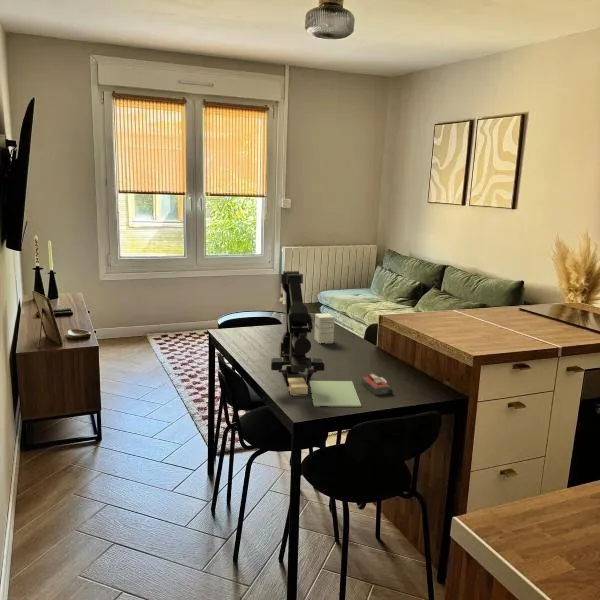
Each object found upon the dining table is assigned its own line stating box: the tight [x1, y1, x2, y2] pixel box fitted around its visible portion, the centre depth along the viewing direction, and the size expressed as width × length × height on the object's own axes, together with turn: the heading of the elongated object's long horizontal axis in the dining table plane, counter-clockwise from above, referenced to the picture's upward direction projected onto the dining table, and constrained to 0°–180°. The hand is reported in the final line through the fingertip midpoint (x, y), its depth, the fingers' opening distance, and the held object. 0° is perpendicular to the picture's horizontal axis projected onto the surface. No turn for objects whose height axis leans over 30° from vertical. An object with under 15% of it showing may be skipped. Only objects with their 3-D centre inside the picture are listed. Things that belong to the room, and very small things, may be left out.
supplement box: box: [313, 312, 335, 345], centre depth 250 cm, size 7×7×13 cm
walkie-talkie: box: [361, 371, 394, 396], centre depth 199 cm, size 9×4×20 cm
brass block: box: [287, 377, 309, 394], centre depth 192 cm, size 9×6×3 cm, turn 10°
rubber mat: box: [309, 380, 362, 408], centre depth 190 cm, size 22×16×1 cm
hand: (297, 387), depth 192 cm, fingers closed on brass block, 6 cm apart
